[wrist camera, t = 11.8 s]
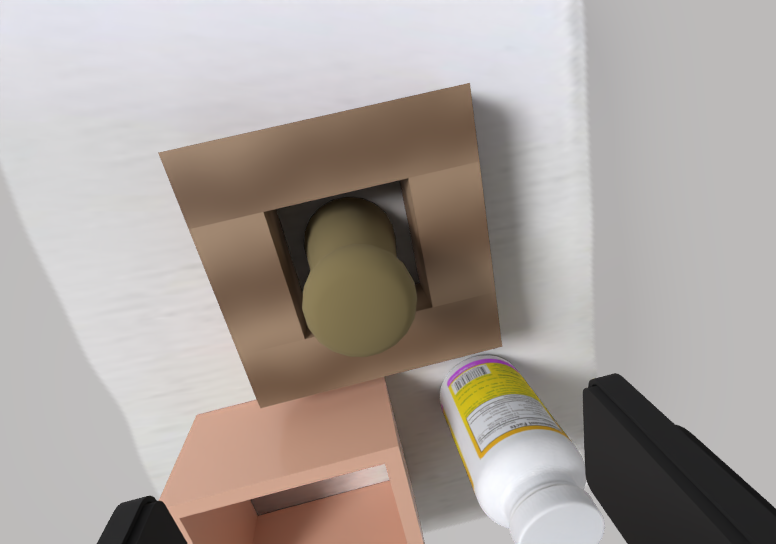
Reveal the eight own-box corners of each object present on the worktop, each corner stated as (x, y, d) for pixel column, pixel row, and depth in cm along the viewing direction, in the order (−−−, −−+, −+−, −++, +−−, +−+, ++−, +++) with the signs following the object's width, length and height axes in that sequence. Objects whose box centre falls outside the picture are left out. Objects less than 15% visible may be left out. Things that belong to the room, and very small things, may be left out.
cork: (413, 247, 28) (460, 322, 18) (345, 301, 29) (354, 402, 19) (356, 177, 26) (373, 218, 16) (284, 237, 27) (257, 313, 17)
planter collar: (196, 415, 31) (154, 510, 23) (382, 367, 31) (398, 445, 24) (249, 527, 35) (228, 637, 28) (411, 483, 36) (432, 580, 28)
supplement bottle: (501, 426, 35) (590, 588, 23) (427, 415, 34) (480, 581, 22) (531, 358, 33) (645, 496, 21) (452, 343, 32) (528, 482, 20)
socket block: (184, 147, 24) (158, 152, 21) (448, 87, 25) (469, 82, 21) (268, 372, 30) (260, 408, 27) (481, 318, 31) (502, 346, 27)
